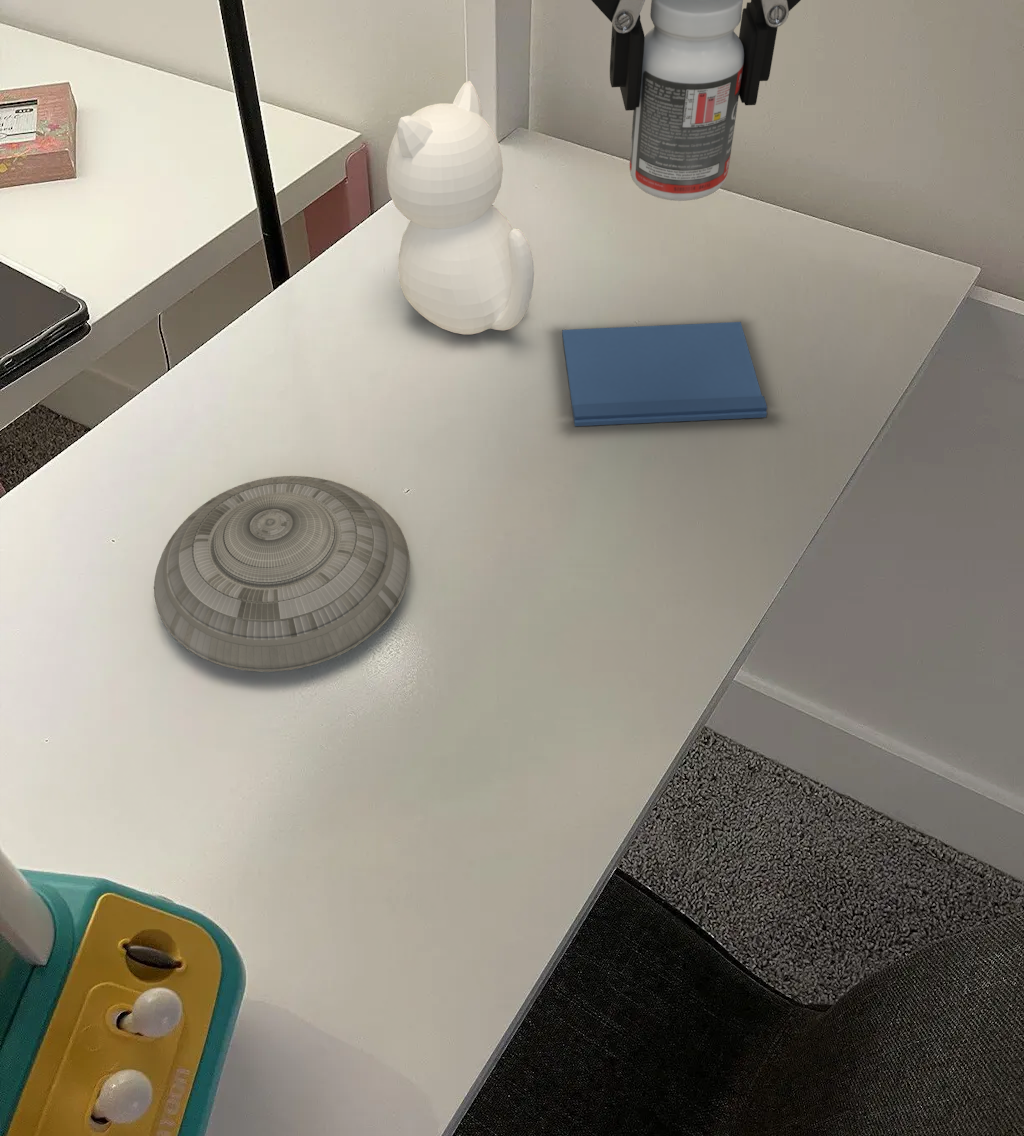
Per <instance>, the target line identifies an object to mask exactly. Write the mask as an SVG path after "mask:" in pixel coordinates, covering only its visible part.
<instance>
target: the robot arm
mask: <svg viewBox="0 0 1024 1136" xmlns="http://www.w3.org/2000/svg"><path fill="white" fill-rule="evenodd" d="M591 2H592V3H593V4H594V5H595V6H596V7H597V8H598V10H599V11H600V12H601V13H602V14H603V15H604V16H605V17H606V18H607V19H608V20H609V22H610V23H611V38H610V39H611V41H610V56H609V57H610V58H609V83H610V87H611V88H619V89H620V94H621V98H622V102H623V106H624V110H625V111H627V112H628V111H634V110H635V109H636V107H639V103H640V91H641V78H642V66H643V54H644V40H645V38H644V37H645V32H644V29H643V24H642V21H641V13H642V12H641V11H642V9H643V7H644V5H645V2H646V0H591ZM800 2H801V0H750V1H749V2H748V1H747V2H746V7H744V8H742V12H741V21H740V26H739V33H738V37H739V39H740V40H741V42H742V45H743V48H744V65H743V72H742V78H741V85H740V91H739V99H740V101H741V103H742V104H744V106H756V105H757V102H758V101H757V100H758V95H759V89H760V82H768V81H769V79H770V75H771V69H772V63H773V57H774V51H775V45H776V39H777V34H778V28H779V27H781V26H782V25H783V24H785V23H786V21H787V19H788V18H789V14H790V12H791V10H793V8H794V7H796V6H797V5H798V4H799V3H800Z"/></svg>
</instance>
